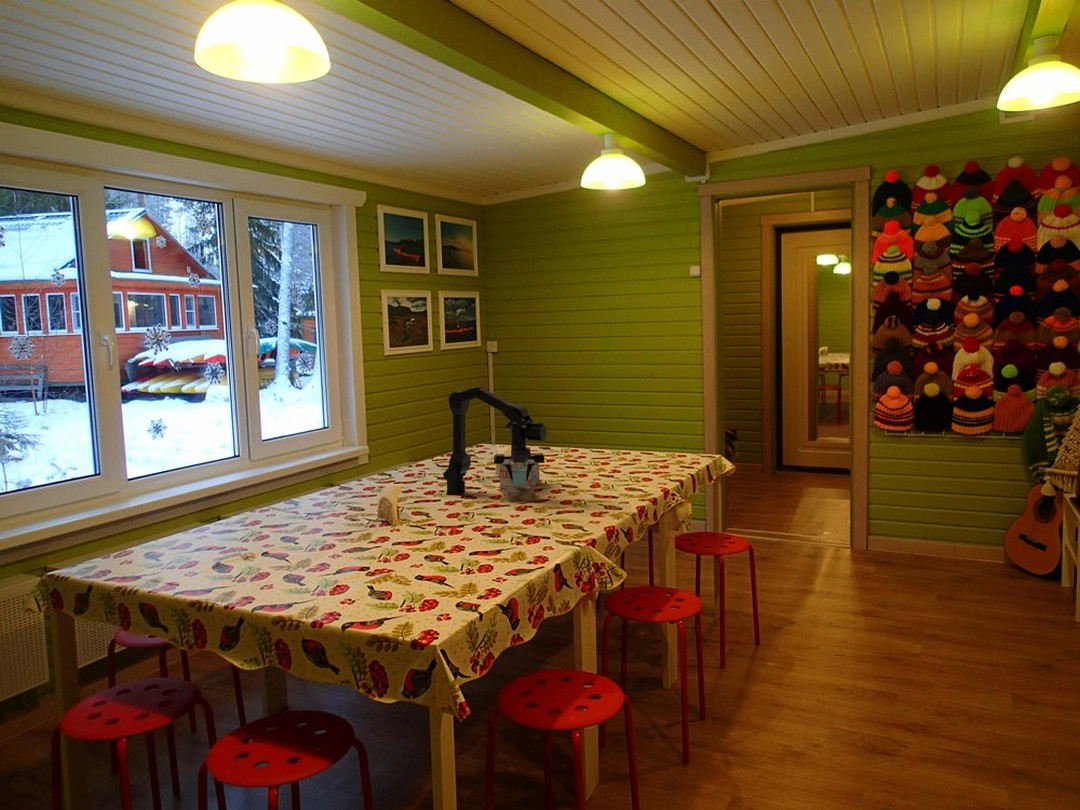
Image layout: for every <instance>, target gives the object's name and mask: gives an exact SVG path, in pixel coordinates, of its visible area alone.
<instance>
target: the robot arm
mask: <svg viewBox="0 0 1080 810" xmlns="http://www.w3.org/2000/svg"><path fill="white" fill-rule="evenodd" d="M475 399H477V400H479V401H481V402H483V403H485V404H487V405H488V406H491V407H492V408H493V409H495V410H497V411H500V412H501V413H502V415H503V416H504V417H505V418H506V419H508V420H509V422H508V423H507V424H506V425H505V426H504V428H506V429H510V455H509V456H508V455H505V453H496V454H494V455H493V464H494V465H499V464H502V463H503V466H506V468H507V470H508V472H509V475H510V477H511V480H512V482H513V475H512V468H511V462H510V461H513V463H519V462H521V463H525V462H526V461H528V463H527V473H526V481H527V480H528V477H529V473H530V470H531V468H532V466H533V465H536V463H539V464H544V463H545V454H544V453H542V452H538V453H537V452H534V453H533V455H531V448H527V440H528V441H533V442H538V441H539V442H544V441H545V440H546V439H547V433H548V432H547V431H548V430H547V429H546V427H545V424H544V422H543V421H541V422H534V420H533V418H532V417H531V416H530V414H529V412H528V408H527V407H526V406H524V405H522V404H518V403H514V402H510V401H507V400H505V399H504V398H502V397H500V396H498V395H496V394H494V393H493V392H491V391H489V390H488V389H485V388H484V387H483V386H481V385H478V386H473V387H472V388H469V389H466V390H459V391H453V392H451V393H450V394H449V395H448V405H449V409H450V411H451V413H452V452H451V455H450V458H449V460H448V461H449V462H448V468H447V469H446V470H445V471H444V472H443V473H442V476H443V478H444V480H446V495H451V496H452V495H453V496H454V495H464V493H465V492H466V480H465V479H464V477H465V476H466V475H467V472H468V471H469V470H470V466H472V462H471V458H472V455H471V454H467V451H466V414H467V412H468V410H469V407H470V401H473V400H475Z"/></svg>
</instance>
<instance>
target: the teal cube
mask: <svg viewBox="0 0 1080 810" xmlns="http://www.w3.org/2000/svg"><path fill="white" fill-rule="evenodd" d="M517 485H526V469H523V470H513V486H517Z"/></svg>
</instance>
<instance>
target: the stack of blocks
mask: <svg viewBox="0 0 1080 810" xmlns="http://www.w3.org/2000/svg"><path fill="white" fill-rule="evenodd" d="M510 462H511V468H512V475H513V470H523V469H526V473H527V463H528V461H526V462H525V463H521V462H519V463H513V461H510ZM498 467H499V473H498V474H499V492H500V493H502V494H503V493H505V487H511V486H513V482H512V480H511V477H510V475H509V472H508V470H507V468H506V466H503V463H502V464H498ZM540 480H541V479H540V463H536V465H533V466H532V468H531V470H530V473H529V477H528V480H527V481H526V485H517V486H532V487H533V486H535V485H538V484H540Z"/></svg>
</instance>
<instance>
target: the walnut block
mask: <svg viewBox="0 0 1080 810" xmlns="http://www.w3.org/2000/svg"><path fill="white" fill-rule="evenodd" d="M505 498H506V500H507V502H508V503H515V502H516V503H517V502H535V501H536V490H535V489H534V487H533V486H511V487H505Z"/></svg>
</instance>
